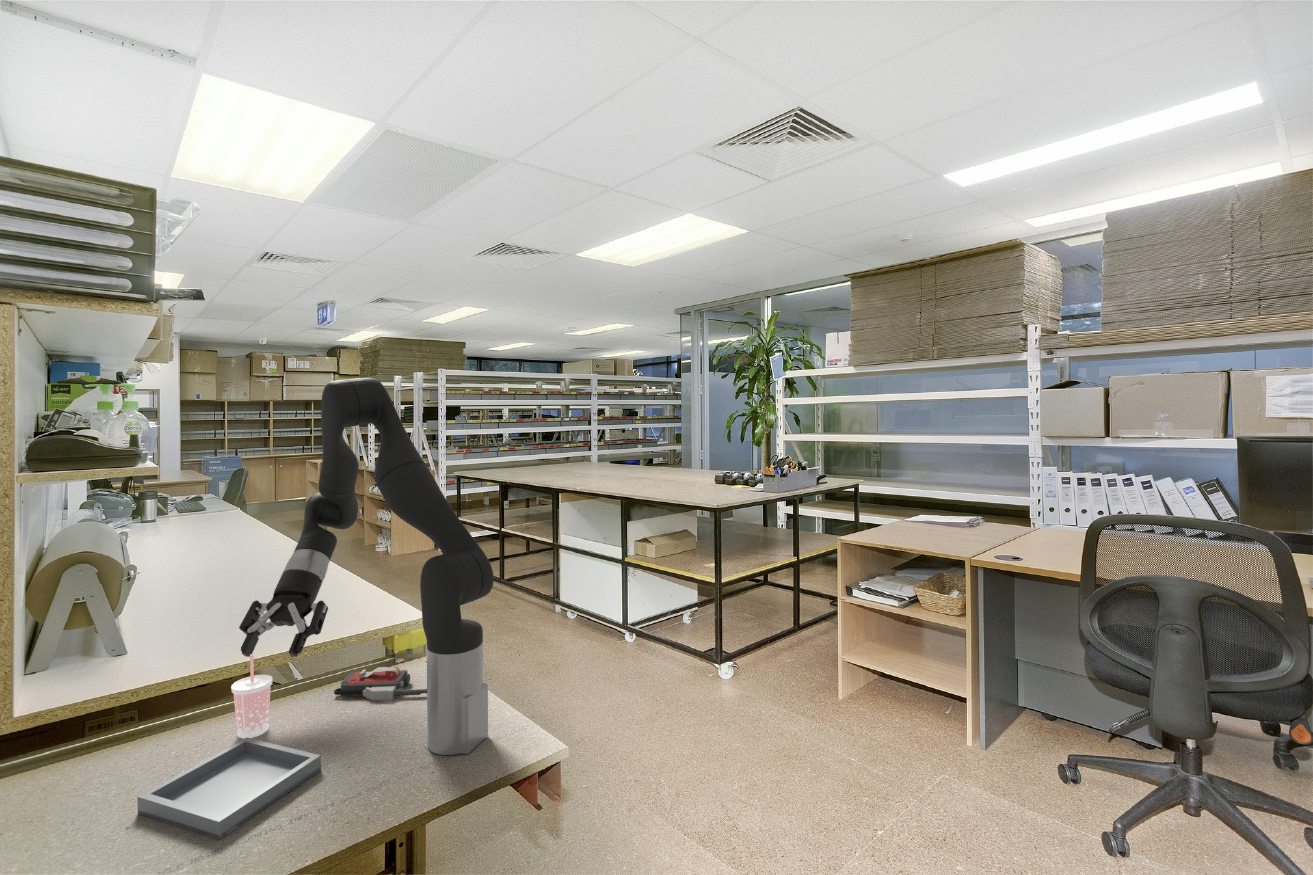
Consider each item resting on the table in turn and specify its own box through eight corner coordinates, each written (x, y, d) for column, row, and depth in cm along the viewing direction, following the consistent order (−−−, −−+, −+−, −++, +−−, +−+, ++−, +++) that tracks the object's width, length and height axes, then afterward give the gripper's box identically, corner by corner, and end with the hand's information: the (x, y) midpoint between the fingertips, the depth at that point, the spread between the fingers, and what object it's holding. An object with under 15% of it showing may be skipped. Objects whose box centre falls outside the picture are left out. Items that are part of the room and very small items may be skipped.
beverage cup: (281, 722, 108) (279, 647, 107) (259, 740, 102) (257, 661, 101) (247, 722, 108) (246, 647, 107) (223, 740, 102) (221, 661, 101)
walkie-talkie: (328, 704, 115) (433, 700, 117) (328, 682, 115) (433, 678, 117) (347, 684, 124) (444, 680, 126) (347, 663, 124) (444, 660, 126)
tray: (321, 770, 94) (320, 755, 94) (219, 839, 78) (219, 821, 78) (246, 751, 98) (246, 737, 98) (137, 813, 83) (137, 796, 83)
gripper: (258, 567, 117) (219, 647, 106) (331, 567, 118) (299, 646, 107) (275, 585, 123) (239, 663, 112) (345, 585, 123) (316, 662, 112)
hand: (269, 655), depth 109 cm, fingers open, 8 cm apart
